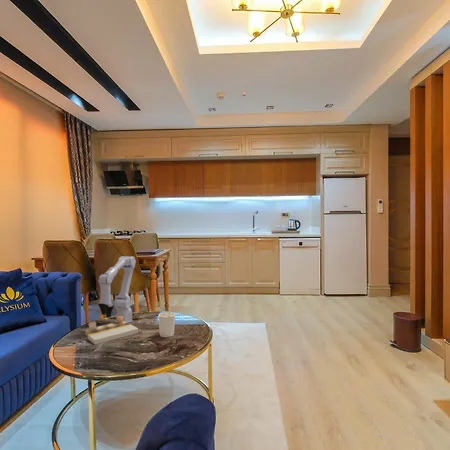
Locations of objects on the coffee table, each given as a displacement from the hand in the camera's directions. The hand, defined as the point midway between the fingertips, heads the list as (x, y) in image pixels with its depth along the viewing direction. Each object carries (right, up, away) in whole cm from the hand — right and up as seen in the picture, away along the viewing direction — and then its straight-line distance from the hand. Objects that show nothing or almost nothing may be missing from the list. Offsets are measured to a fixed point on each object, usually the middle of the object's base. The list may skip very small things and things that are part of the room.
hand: (106, 315), depth 195 cm
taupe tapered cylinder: (-6, -7, -5) cm, 10 cm away
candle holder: (+39, -9, -7) cm, 40 cm away
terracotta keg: (+6, -6, +6) cm, 11 cm away
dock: (+7, -10, -8) cm, 14 cm away
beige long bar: (0, -10, +1) cm, 10 cm away
